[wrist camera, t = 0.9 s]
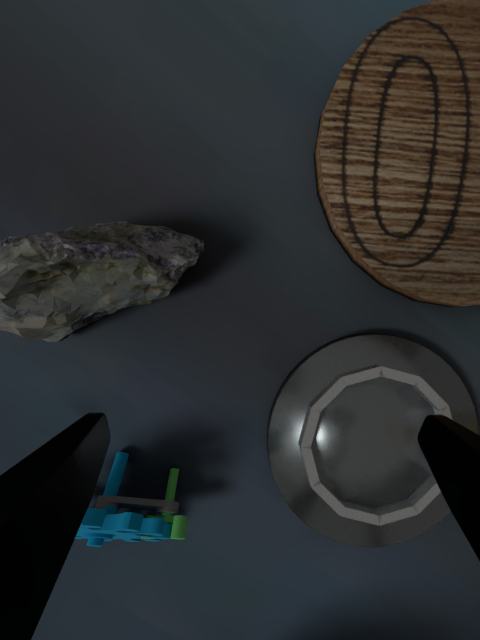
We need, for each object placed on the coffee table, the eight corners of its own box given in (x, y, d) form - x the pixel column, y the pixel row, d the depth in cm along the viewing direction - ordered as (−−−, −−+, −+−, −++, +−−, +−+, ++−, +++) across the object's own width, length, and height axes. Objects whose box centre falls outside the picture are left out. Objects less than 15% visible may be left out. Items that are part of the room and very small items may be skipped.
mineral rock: (210, 243, 23) (194, 187, 13) (182, 366, 23) (144, 405, 13) (59, 207, 22) (-80, 120, 12) (31, 332, 22) (-130, 346, 12)
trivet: (594, 31, 24) (625, 6, 22) (579, 311, 24) (609, 310, 22) (317, 12, 23) (325, -15, 21) (307, 302, 24) (314, 301, 22)
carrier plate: (437, 558, 24) (454, 577, 22) (243, 510, 23) (244, 527, 21) (491, 363, 24) (513, 367, 22) (297, 310, 23) (303, 310, 21)
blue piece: (34, 546, 21) (-17, 534, 14) (69, 464, 25) (43, 422, 18) (175, 553, 23) (192, 545, 16) (187, 476, 27) (204, 442, 20)
